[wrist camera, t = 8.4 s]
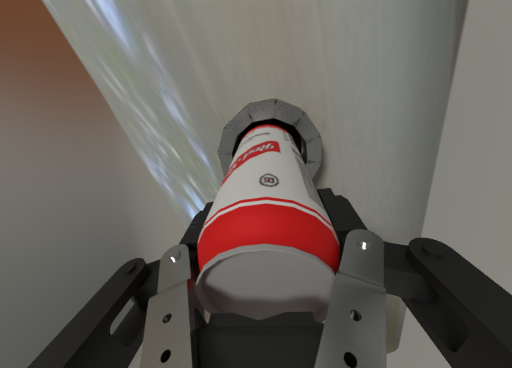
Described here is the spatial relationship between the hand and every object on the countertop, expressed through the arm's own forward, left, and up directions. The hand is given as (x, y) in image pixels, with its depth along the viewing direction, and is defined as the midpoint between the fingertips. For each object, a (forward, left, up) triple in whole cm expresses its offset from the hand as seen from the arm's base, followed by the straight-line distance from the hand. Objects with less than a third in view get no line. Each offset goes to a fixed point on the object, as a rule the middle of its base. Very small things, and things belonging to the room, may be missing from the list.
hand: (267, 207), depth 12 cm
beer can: (0, 0, -10) cm, 10 cm away
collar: (0, 0, -12) cm, 12 cm away
